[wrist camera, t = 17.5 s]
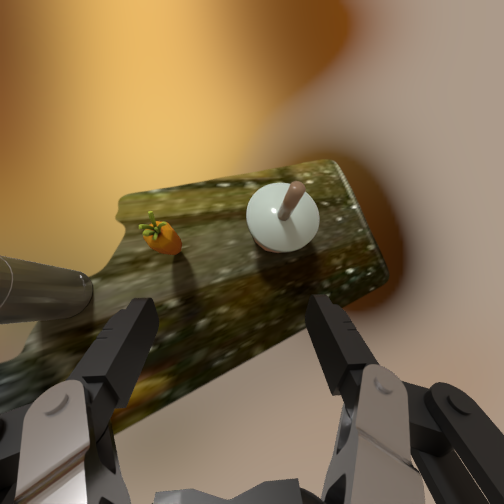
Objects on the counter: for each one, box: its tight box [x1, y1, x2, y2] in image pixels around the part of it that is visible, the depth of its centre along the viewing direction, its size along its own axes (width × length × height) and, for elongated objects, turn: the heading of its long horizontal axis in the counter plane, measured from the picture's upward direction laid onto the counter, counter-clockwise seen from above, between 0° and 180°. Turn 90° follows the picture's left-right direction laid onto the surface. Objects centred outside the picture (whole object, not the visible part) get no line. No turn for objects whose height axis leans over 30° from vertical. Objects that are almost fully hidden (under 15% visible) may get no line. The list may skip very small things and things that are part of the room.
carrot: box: [139, 211, 182, 255], centre depth 34 cm, size 5×5×15 cm
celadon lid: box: [246, 181, 319, 252], centre depth 33 cm, size 14×14×10 cm
